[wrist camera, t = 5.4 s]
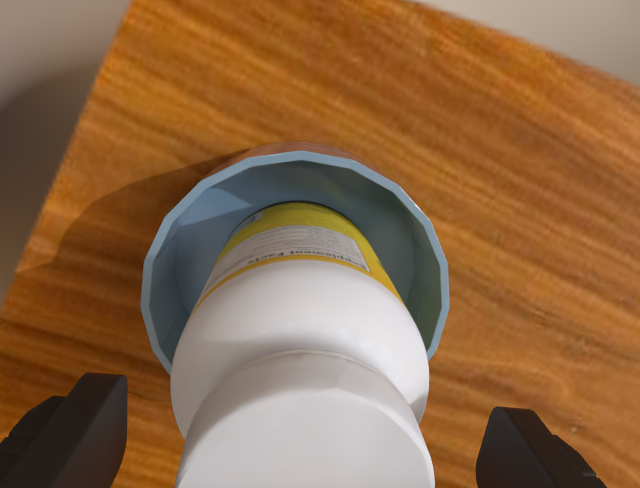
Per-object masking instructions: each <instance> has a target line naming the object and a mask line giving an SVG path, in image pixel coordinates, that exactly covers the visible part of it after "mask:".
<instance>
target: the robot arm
mask: <svg viewBox="0 0 640 488" xmlns="http://www.w3.org/2000/svg"><path fill="white" fill-rule="evenodd" d="M126 441H127V378H126V376H125V375H114V374H101V373H89V372H87V373H85V374H84V375H83V376H82V377H81V379H80V380H79V381H78V383H77V384H76V385H75V387H74V388H73V389H72V390H71V392H70V393H69V394H68V396H67V397H62V396H52V397H50V398H49V399H47V400H45V401H44V402H42V403H41V404H39V405H38V406H36V407H34V408H33V409H31V410H30V411H28V412H27V413H26V414H25V415H24V416H23V418H22V419H21V420H20V421H19V422H18V423H17V425H16V426H15V427H14V428H13V429H12V430H11V432H10V433H9V436H8V437H5V439H4V440H3V441H2V442H1V443H0V488H110V487H111V485H112V483H113V481H114V479H115V477H116V475H117V472H118V470H119V468H120V465H121V463H122V460H123V456H124V452H125V447H126ZM476 480H477V485H478V488H607V487H606V486H605V484H604V483H603V482H602V481H601V479H600V478H597V477H596V473H595V472H594V471H593V470H592V468H591V467H590V466H589V465H588V463H587V462H586V461H585V460H584V459H583V457H582V456H581V455H580V454H579V453H578V452H577V451H576V450H574V449H573V448H572V447H571V446H569V445H568V444H567V443H566V442H564V441H563V440H562V439H560V438H559V437H558V436H557V435H552V434H551V432H550V431H549V430H548V428H547V427H546V426H545V425H544V423H543V422H542V421H541V419H540V418H539V417H538V416H537V414H536V413H535V412H534V411H532V410H530V409H521V408H509V407H495V408H494V409H493V410H492V412H491V414H490V417H489V421H488V424H487V428H486V431H485V434H484V438H483V441H482V445H481V448H480V451H479V455H478V458H477V462H476Z"/></svg>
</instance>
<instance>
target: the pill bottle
mask: <svg viewBox="0 0 640 488" xmlns="http://www.w3.org/2000/svg"><path fill="white" fill-rule="evenodd" d="M170 387H171V400H172V407H173V411H174V415H175V418H176V421H177V424H178V427H179V429H180V432H181V434H182V436H183V437H184V439H185V445H184V449H183V453H182V457H181V461H180V465H179V469H178V473H177V477H176V481H175V488H435V479H434V471H433V465H432V461H431V457H430V454H429V452H428V449H427V447H426V444H425V441H424V439H423V436H422V434H421V431H420V428H419V424H420V421H421V419H422V416H423V414H424V411H425V407H426V403H427V397H428V390H429V366H428V360H427V354H426V350H425V346H424V343H423V340H422V338H421V335H420V332H419V330H418V328H417V326H416V324H415V322H414V320H413V319H412V317H411V315H410V313H409V311H408V310H407V308H406V306H405V304H404V303H403V301H402V299H401V297H400V296H399V294H398V292H397V290H396V289H395V287H394V285H393V283H392V282H391V280H390V278H389V276H388V275H387V273H386V271H385V270H384V268H383V266H382V264H381V263H380V261H379V259H378V257H377V256H376V254H375V252H374V251H373V249H372V247H371V246H370V244H369V242H368V240H367V239H366V237H365V236H364V234H363V233H362V231H361V230H360V229H359V228H358V227H357V225H356V224H355V223H353V222H352V221H351V220H350V219H349V218H348V217H347V216H345V215H344V214H342V213H341V212H339V211H337V210H336V209H334V208H332V207H330V206H327V205H324V204H321V203H318V202H313V201H307V200H288V201H281V202H277V203H273V204H270V205H268V206H265V207H263V208H261V209H259V210H257V211H255V212H254V213H252V214H250V215H249V216H248V217H247V218H245V219H244V220H243V221H242V222H241V223H240V224H239V225H238V226H237V227H236V228H235V229H234V230H233V232H232V233H231V234H230V236H229V237H228V239H227V241H226V242H225V244H224V246H223V248H222V250H221V253H220V255H219V257H218V259H217V261H216V264H215V266H214V268H213V270H212V272H211V275H210V277H209V279H208V281H207V283H206V285H205V287H204V289H203V291H202V293H201V295H200V297H199V299H198V301H197V303H196V305H195V307H194V309H193V311H192V313H191V315H190V317H189V319H188V321H187V324H186V326H185V328H184V330H183V332H182V334H181V337H180V340H179V342H178V345H177V348H176V351H175V355H174V358H173V364H172V370H171V382H170Z"/></svg>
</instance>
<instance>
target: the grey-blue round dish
mask: <svg viewBox="0 0 640 488" xmlns="http://www.w3.org/2000/svg"><path fill="white" fill-rule="evenodd" d="M288 200H307V201H313V202H318V203H321V204H324V205H327V206H330V207H332V208H334V209H336V210H337V211H339V212H341V213H342V214H344V215H345V216H347V217H348V218H349V219H350V220H351V221H352V222H353V223H355V224H356V225H357V227H358V228H359V229H360V230H361V231H362V233H363V234H364V236H365V237H366V239H367V240H368V242H369V244H370V246H371V247H372V249H373V251H374V252H375V254H376V256H377V257H378V259H379V261H380V263H381V264H382V266H383V268H384V270H385V271H386V273H387V275H388V276H389V278H390V280H391V282H392V283H393V285H394V287H395V289H396V290H397V292H398V294H399V296H400V297H401V299H402V301H403V303H404V304H405V306H406V308H407V310H408V311H409V313H410V315H411V317H412V319H413V320H414V322H415V324H416V326H417V328H418V330H419V332H420V335H421V338H422V340H423V343H424V346H425V350H426V354H427V360H428V361H429V360H430V358H431V357H432V355H433V354H434V353H435V351H436V350H437V347H438V344H439V341H440V337H441V334H442V331H443V327H444V324H445V321H446V317H447V314H448V311H449V281H448V264H447V260H446V258H445V255H444V253H443V250H442V248H441V245H440V243H439V240H438V238H437V235H436V233H435V230H434V228H433V225H432V223H431V221H430V220H429V219H428V217H427V216H426V215H425V214H424V213H423V212H422V211H421V210H420V208H419V207H418V206H417V205H416V204H415V203H414V202H413V201H412V199H411V198H410V197H409V196H408V195H407V194H406V193H405V192H404V190H403V189H402V188H401V187H400V186H399V185H398V184H397V183H395V182H394V181H393V180H391V179H390V178H389V177H387V176H386V175H385V174H384V173H382V172H381V171H380V170H378V169H377V168H375V167H373V166H372V165H370V164H368V163H366V162H365V161H363V160H361V159H360V158H358V157H356V156H354V155H352V154H350V153H349V152H347V151H345V150H343V149H341V148H335V147H331V146H328V145H323V144H317V143H311V142H304V141H293V142H282V143H273V144H269V145H263V146H257V147H254V148H252V149H250V150H248V151H246V152H243V153H241V154H239V155H237V156H235V157H233V158H231V159H230V160H228V161H225V162H223V163H221V164H219V165H218V166H216V167H215V168H214V169H213V170H212V171H211V172H210V173H209V174H207V175H206V176H205V177H204V178H203V179H202V180H201V181H200V182H199V183H198V184H197V185H196V186H195V187H194V188H193V189H192V190H191V191H190V192H189V193H188V194H187V195H186V196H185V197H184V198H183V199H182V200H181V201H180V202H179V203H178V204H177V205H176V206H175V207H174V208H173V209H172V210H171V211H170V212H169V213H168V214H167V215H166V216H165V217H164V219H163V221H162V223H161V225H160V227H159V230H158V232H157V234H156V236H155V238H154V240H153V242H152V245H151V247H150V249H149V251H148V253H147V255H146V257H145V260H144V266H143V278H142V290H141V303H140V307H141V312H142V315H143V319H144V323H145V326H146V330H147V334H148V337H149V341H150V344H151V348H152V350H153V352H154V354H155V355H156V357H157V358H158V360H159V361H160V363H161V364H162V365H163V367H164V368H165V370H166V371H167V373H168V374H169V376H170V377H171V370H172V364H173V358H174V355H175V351H176V348H177V345H178V342H179V340H180V337H181V334H182V332H183V330H184V328H185V326H186V324H187V321H188V319H189V317H190V315H191V313H192V311H193V309H194V307H195V305H196V303H197V301H198V299H199V297H200V295H201V293H202V291H203V289H204V287H205V285H206V283H207V281H208V279H209V277H210V275H211V272H212V270H213V268H214V266H215V264H216V261H217V259H218V257H219V255H220V253H221V250H222V248H223V246H224V244H225V242H226V241H227V239H228V237H229V236H230V234H231V233H232V232H233V230H234V229H235V228H236V227H237V226H238V225H239V224H240V223H241V222H242V221H243V220H244V219H245V218H247V217H248V216H249V215H250V214H252V213H254V212H255V211H257V210H259V209H261V208H263V207H265V206H268V205H270V204H273V203H277V202H281V201H288Z"/></svg>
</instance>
